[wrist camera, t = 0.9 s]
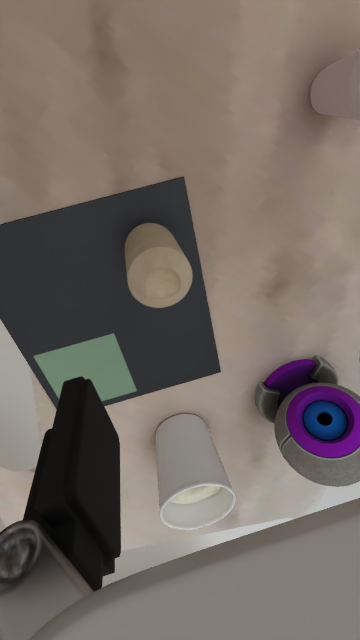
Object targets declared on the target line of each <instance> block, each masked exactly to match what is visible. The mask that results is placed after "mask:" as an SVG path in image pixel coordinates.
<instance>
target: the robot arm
mask: <svg viewBox="0 0 360 640" xmlns="http://www.w3.org/2000/svg"><path fill="white" fill-rule="evenodd" d="M120 552H121V526H120V443H119V437H118V434H117V432H116V430H115V428H114V426H113V424H112V422H111V420H110V418H109V416H108V414H107V411H106V409H105V407H104V405H103V403H102V401H101V399H100V397H99V395H98V393H97V391H96V389H95V387H94V385H93V383H92V381H91V380H90V379H86V380H85V378H84V377H83V376H80V377H77V378H73V379H70V380H66V381H64V382H63V385H62V389H61V394H60V398H59V402H58V407H57V411H56V415H55V419H54V424H53V428H52V429H49V430H47V432H46V433H45V436H44V439H43V443H42V447H41V451H40V455H39V459H38V463H37V467H36V471H35V474H34V478H33V482H32V486H31V490H30V494H29V498H28V502H27V506H26V510H25V514H24V518H23V520H22V521H18V522H16V523H14V524H12V525H10V526H8V527H7V528H5V529H4V530H3V531H2V532H0V640H360V498H358V499H355V500H352V501H349V502H346V503H343V504H340V505H337V506H333V507H330V508H327V509H324V510H321V511H318V512H315V513H312V514H309V515H306V516H303V517H300V518H297V519H294V520H291V521H288V522H285V523H282V524H279V525H275V526H272V527H269V528H267V529H263V530H261V531H258V532H255V533H251V534H248V535H245V536H242V537H239V538H236V539H233V540H230V541H227V542H224V543H221V544H218V545H215V546H212V547H209V548H206V549H203V550H200V551H197V552H194V553H192V554H189V555H186V556H183V557H180V558H178V559H174V560H172V561H169V562H166V563H163V564H160V565H158V566H154V567H152V568H149V569H146V570H143V571H141V572H138V573H136V574H133V575H131V576H128V577H126V578H124V579H121V580H119V581H116V582H114V583H111V584H109V585H107V586H105V587H103V588H101V587H102V578H103V576H105V575H108V574H111V573H114V572H115V566H114V565H115V558H117V557H119V556H120Z"/></svg>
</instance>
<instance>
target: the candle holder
mask: <svg viewBox="0 0 360 640" xmlns="http://www.w3.org/2000/svg"><path fill="white" fill-rule="evenodd" d="M155 446H156V462H157V476H158V491H159V506H160V510H159V515H160V519H161V521H162V522H163V523H164V524H165V525H166V526H168V527H171V528H174V529H179V530H192V529H198V528H202V527H205V526H208V525H211V524H213V523H215V522H217V521H219V520H221V519H222V518H223V517H225V516H226V515H227V514H228V513H229V512H230V511H231V510H232V508H233V507H234V504H235V500H236V497H235V493H234V491H233V489H232V487H231V485H230V482H229V480H228V477H227V475H226V472H225V470H224V467H223V465H222V462H221V460H220V457H219V455H218V452H217V450H216V447H215V445H214V442H213V440H212V437H211V435H210V432H209V430H208V428H207V425H206V423H205V422H204V420H203V419H201V418H200V417H198V416H196V415H193V414H179V415H175V416H172V417H170V418H168V419H166V420H165V421H164V422H162V423H161V424H160V426H159V427H158V428H157V431H156V434H155Z"/></svg>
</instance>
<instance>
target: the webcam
mask: <svg viewBox="0 0 360 640" xmlns="http://www.w3.org/2000/svg"><path fill="white" fill-rule="evenodd" d="M255 403H256V406H257V408H258V410H259V412H260V413H261V415H262V416H263V417H264V418H265V419H266V420H268V421H270V422H272V423H274V424H275V436H276V440H277V444H278V446H279V449H280V451H281V453H282V455H283V457H284V458H285V460H286V461H287V462H288V463H289V465H290V466H291V467H292V468H293V469H294V470H295V471H297V472H298V473H299V474H300V475H302V476H303V477H305V478H307V479H309V480H311V481H313V482H315V483H318V484H321V485H326V486H337V487H339V486H347V485H351V484H354V483H356V482H359V481H360V397H359V396H358V395H357V394H355V393H354V392H352V391H350V390H349V389H347V388H344V387H342V386H339V385H338V377H337V374H336V372H335V370H334V369H333V367H332V366H331V365H330V364H329V363H328V362H327V361H326V360H324V359H323V358H320V357H318V356H315V358H314V359H313V360H298V361H294V362H291V363H288V364H286V365H284V366H282V367H280V368H279V369H277V370H276V371H275V372H273V373H272V374H271V375H270V376H269V377H268V378H267V380H266V381H265V383H264V384H263V383H259V385H258V387H257V389H256V393H255Z"/></svg>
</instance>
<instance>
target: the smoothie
mask: <svg viewBox="0 0 360 640" xmlns="http://www.w3.org/2000/svg"><path fill="white" fill-rule="evenodd" d="M310 101H311V105H312V107H313V109H314V110H315V111H316V112H317V113H319V114H323V115H330V116H336V117H343V118H349V119H356V120H360V48H359V49H357V50H355V51H353V52H352V53H350V54H348V55H347V56H345V57H343V58H342V59H340V60H338V61H336V62H335V63H333V64H331V65H330V66H328V67H326V68H324V69H323V70H322V71H321V72H320V73H319V74H318V75H317V76H316V78H315V79H314V81H313V84H312V87H311V91H310Z"/></svg>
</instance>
